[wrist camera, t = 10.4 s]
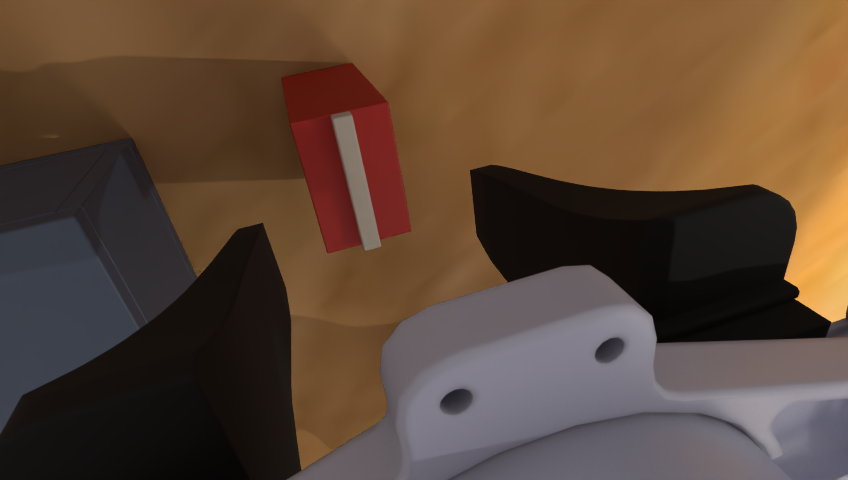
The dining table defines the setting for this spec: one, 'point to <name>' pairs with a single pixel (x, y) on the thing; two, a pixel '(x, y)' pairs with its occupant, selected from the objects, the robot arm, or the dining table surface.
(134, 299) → the cabinet
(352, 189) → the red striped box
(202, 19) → the dining table surface
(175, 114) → the dining table surface
